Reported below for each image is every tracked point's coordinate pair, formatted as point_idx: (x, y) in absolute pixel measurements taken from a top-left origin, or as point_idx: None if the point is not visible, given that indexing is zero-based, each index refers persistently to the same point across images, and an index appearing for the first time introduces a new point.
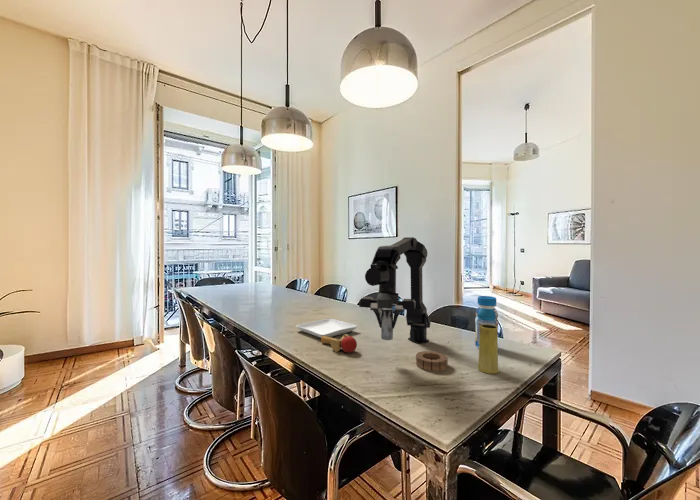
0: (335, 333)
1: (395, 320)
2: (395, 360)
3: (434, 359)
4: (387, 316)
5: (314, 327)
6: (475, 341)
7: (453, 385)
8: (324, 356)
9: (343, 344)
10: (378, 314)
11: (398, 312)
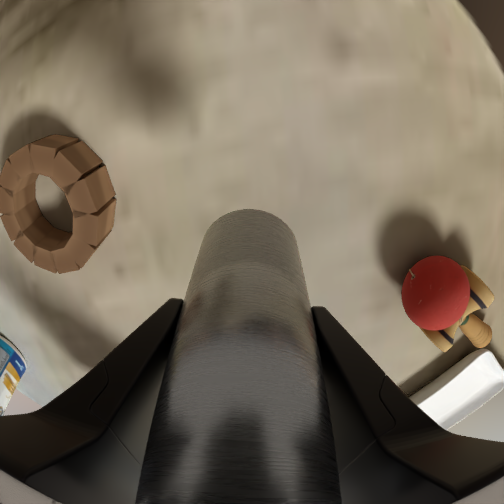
0: (439, 382)
1: (118, 357)
2: (210, 214)
3: (53, 235)
4: (223, 403)
5: (465, 400)
6: (18, 366)
7: (3, 51)
8: (500, 211)
9: (464, 271)
10: (388, 427)
11: (3, 425)
